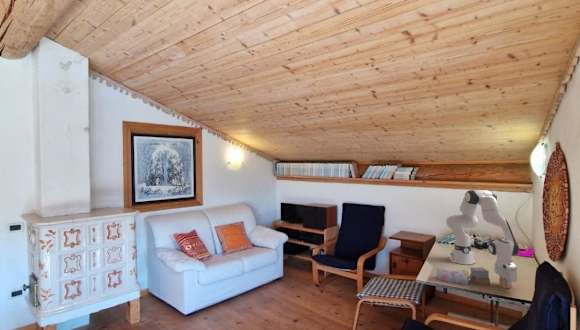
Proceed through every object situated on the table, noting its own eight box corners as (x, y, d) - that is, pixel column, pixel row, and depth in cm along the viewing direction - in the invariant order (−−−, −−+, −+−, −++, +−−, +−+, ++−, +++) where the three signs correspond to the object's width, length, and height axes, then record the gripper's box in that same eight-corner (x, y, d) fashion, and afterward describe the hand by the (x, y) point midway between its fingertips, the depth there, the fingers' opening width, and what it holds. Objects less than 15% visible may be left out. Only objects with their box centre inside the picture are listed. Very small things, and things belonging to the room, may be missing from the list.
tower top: (471, 274, 235) (470, 267, 235) (482, 274, 235) (482, 267, 235) (476, 278, 227) (476, 270, 227) (488, 278, 227) (488, 270, 227)
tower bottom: (470, 281, 236) (469, 274, 236) (483, 281, 235) (483, 274, 235) (476, 285, 227) (475, 278, 227) (490, 285, 226) (489, 278, 226)
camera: (490, 250, 315) (490, 240, 315) (478, 250, 317) (477, 240, 317) (484, 247, 329) (483, 237, 329) (472, 247, 331) (472, 237, 331)
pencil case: (469, 282, 232) (469, 269, 232) (469, 286, 225) (468, 272, 225) (437, 278, 243) (436, 265, 243) (435, 282, 235) (435, 268, 235)
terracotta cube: (499, 285, 226) (499, 278, 226) (507, 285, 225) (506, 278, 225) (503, 288, 221) (503, 280, 221) (511, 288, 220) (511, 280, 220)
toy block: (532, 255, 297) (532, 246, 297) (533, 256, 292) (533, 248, 292) (512, 253, 305) (512, 245, 305) (512, 254, 300) (512, 246, 300)
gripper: (491, 259, 234) (492, 279, 234) (508, 268, 213) (509, 289, 213) (500, 259, 233) (501, 279, 233) (518, 268, 213) (519, 289, 213)
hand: (505, 284), depth 223 cm, fingers closed on terracotta cube, 5 cm apart
